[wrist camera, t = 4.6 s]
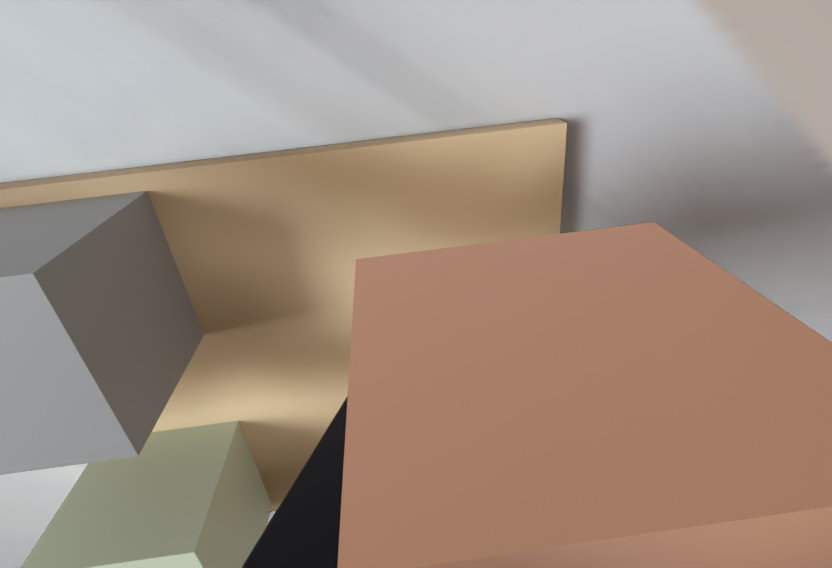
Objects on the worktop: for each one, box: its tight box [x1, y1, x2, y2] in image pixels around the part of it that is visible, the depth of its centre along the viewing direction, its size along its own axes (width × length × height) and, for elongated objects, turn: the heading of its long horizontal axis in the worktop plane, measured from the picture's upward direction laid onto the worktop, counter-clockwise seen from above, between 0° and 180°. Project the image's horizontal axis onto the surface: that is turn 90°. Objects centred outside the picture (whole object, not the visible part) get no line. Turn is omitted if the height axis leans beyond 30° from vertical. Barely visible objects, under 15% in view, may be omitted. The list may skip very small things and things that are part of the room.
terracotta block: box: [337, 222, 832, 568], centre depth 7 cm, size 5×5×5 cm
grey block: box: [0, 191, 204, 475], centre depth 12 cm, size 5×5×5 cm
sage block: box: [21, 421, 271, 568], centre depth 16 cm, size 5×5×5 cm
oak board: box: [0, 118, 567, 512], centre depth 17 cm, size 15×18×1 cm
